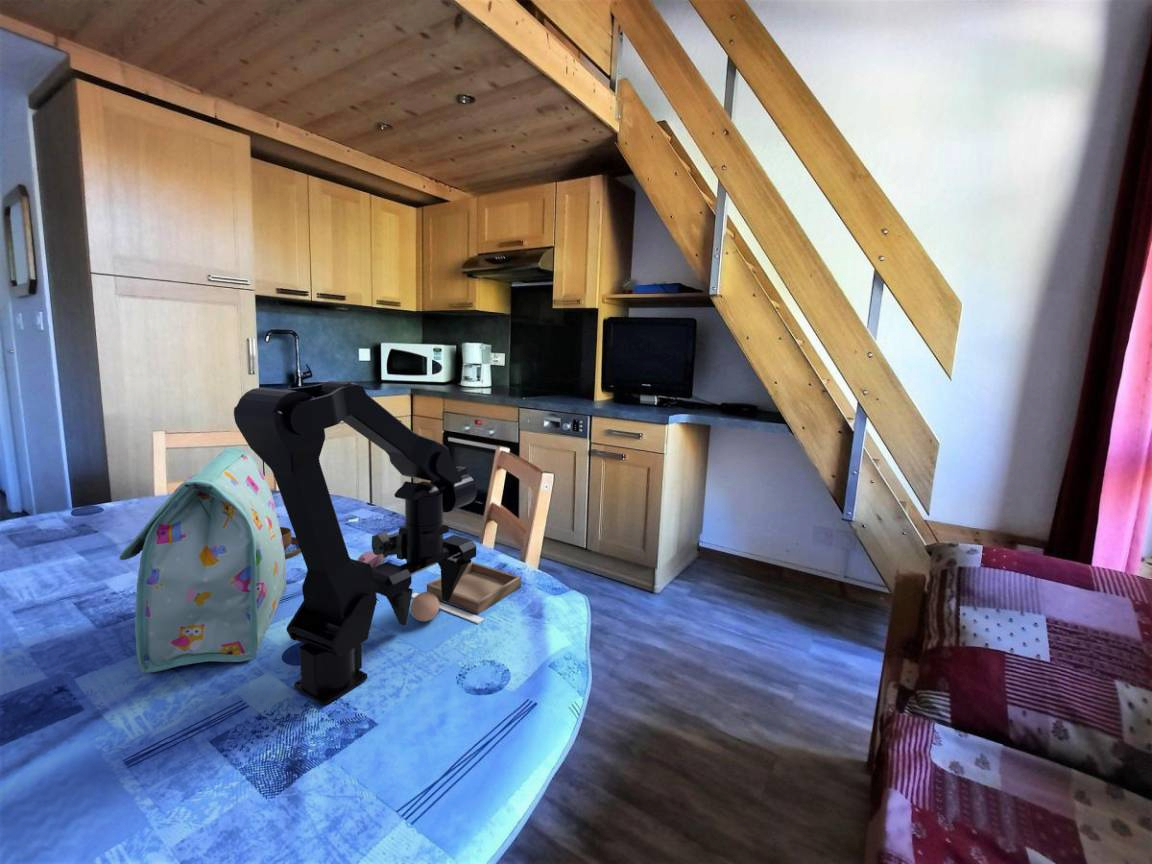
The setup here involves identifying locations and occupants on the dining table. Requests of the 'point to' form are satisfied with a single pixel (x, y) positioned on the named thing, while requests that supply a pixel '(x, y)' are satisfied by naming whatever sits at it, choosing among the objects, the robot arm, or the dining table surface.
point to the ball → (425, 606)
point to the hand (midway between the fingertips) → (425, 612)
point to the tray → (478, 588)
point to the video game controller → (372, 559)
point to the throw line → (457, 611)
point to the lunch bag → (209, 568)
